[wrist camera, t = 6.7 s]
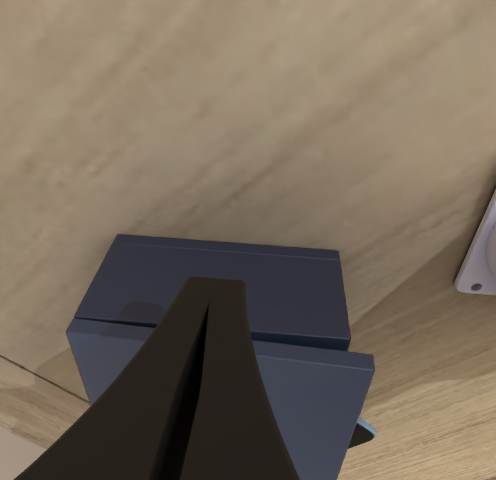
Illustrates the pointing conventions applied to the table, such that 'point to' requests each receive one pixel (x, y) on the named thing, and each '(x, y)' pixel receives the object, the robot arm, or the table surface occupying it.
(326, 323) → the box
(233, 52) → the table surface
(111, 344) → the lid
